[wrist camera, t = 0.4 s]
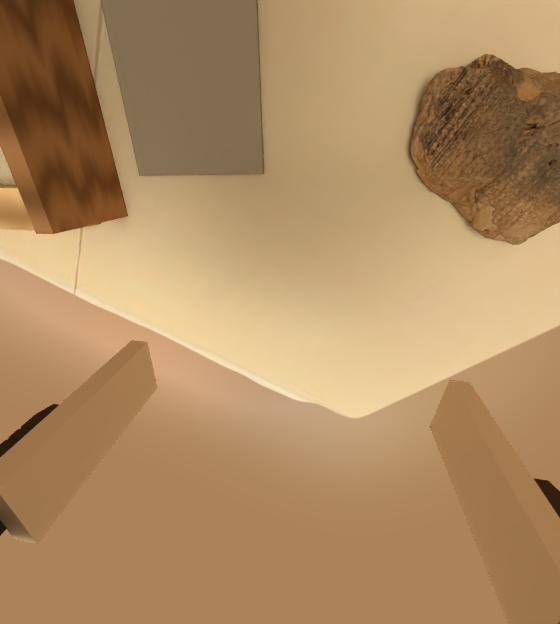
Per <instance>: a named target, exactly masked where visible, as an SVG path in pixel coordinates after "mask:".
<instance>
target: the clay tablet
mask: <svg viewBox="0 0 560 624" xmlns="http://www.w3.org/2000/svg"><path fill="white" fill-rule="evenodd" d="M420 106H421V112H420V113H419V115H418V118H417V120H416V122H415V125H414V134H413V137H412V139H411V143H412V145H411V147H410V148H411V156H412V158H413V160H414V162H415V164H416V166H417V168H418V170H417V171H416V172H417V173H418V175H419V176H420V178H421V179H422V181H423V182H424V184H425V185H426V186H427V187H429V188H430V190H431V191H432V192H434V193H436V194H438V195H439V196H440V197H441V198H443V199H444V200H446V201H448V202H451V203H453V204H454V205H455V207H456V208H457V209H458V211H459V212H460V213H461V215H462V216H463V217H465V219H466V220H468V221H471V226H472V227H473V228H474V229H476V230H477V231H478V232H479V233H480V234H482V235H483V236H484V237H486V238H490V239H493V240H506V241H507V242H508V243H510V244H512V245H517V244H521V243H523V242H525V241H526V240H527V239H528V238H530V237H533V236H535V235H536V234H538V233H539V232H541V231H543V230H545V229H546V228H548V227H550V226H552V225H554V224H556V223H559V222H560V74H559V73H557V72H552V73H541V72H539V71H535V70H532V69H529V68H522V69H519V70H517V69H515V68H514V67H512V66H511V65H509V64H508V63H506V62H504V61H503V60H501V59H499V58H497V57H496V56H494V55H488V54H485V55H483V56H482V57H480V58H478V59H477V60H475V61H474V62H472V63H471V64H469V65H468V66H467V67H462V66H461V67H459V68H448V69H444V70H443V71H441V72H439V73H437V74H436V75H435V76H434V78H433V79H432V80H431V81H430V83H429V86H428V88H427V90H426V92H425V94H424V96H423V99H422V102H421V105H420Z"/></svg>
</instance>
